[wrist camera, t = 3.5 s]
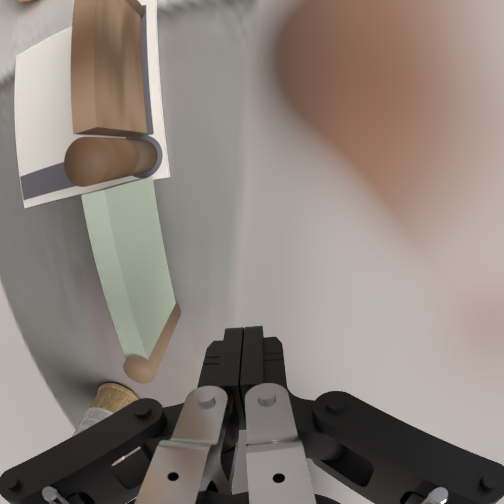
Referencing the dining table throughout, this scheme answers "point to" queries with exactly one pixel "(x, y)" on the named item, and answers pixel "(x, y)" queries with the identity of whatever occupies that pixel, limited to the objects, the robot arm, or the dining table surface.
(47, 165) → the card
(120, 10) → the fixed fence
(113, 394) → the sprinkles bottle
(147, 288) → the swing panel
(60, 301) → the dining table surface
